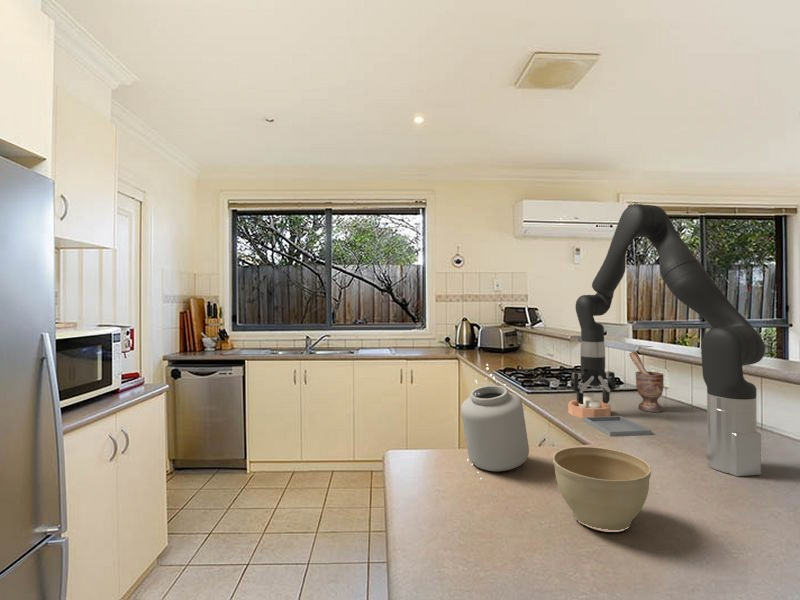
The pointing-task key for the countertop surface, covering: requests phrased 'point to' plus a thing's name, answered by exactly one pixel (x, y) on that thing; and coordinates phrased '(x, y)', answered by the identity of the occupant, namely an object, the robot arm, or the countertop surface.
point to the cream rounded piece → (592, 404)
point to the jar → (495, 428)
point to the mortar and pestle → (648, 386)
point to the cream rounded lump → (585, 401)
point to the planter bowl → (602, 485)
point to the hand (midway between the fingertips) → (593, 403)
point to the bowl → (588, 410)
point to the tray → (617, 426)
